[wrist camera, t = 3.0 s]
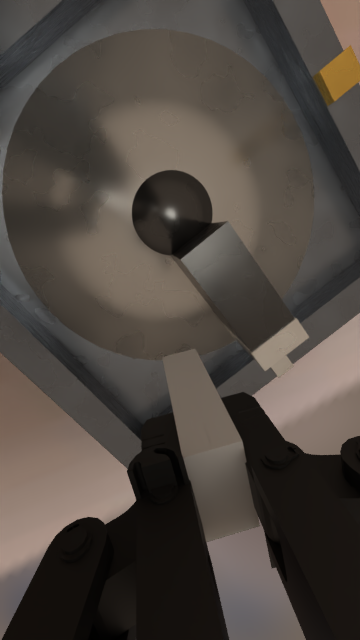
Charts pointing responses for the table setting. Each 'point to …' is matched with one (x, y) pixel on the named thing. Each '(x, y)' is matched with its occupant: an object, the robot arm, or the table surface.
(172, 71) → the dial
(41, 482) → the table surface
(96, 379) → the grey square tray
